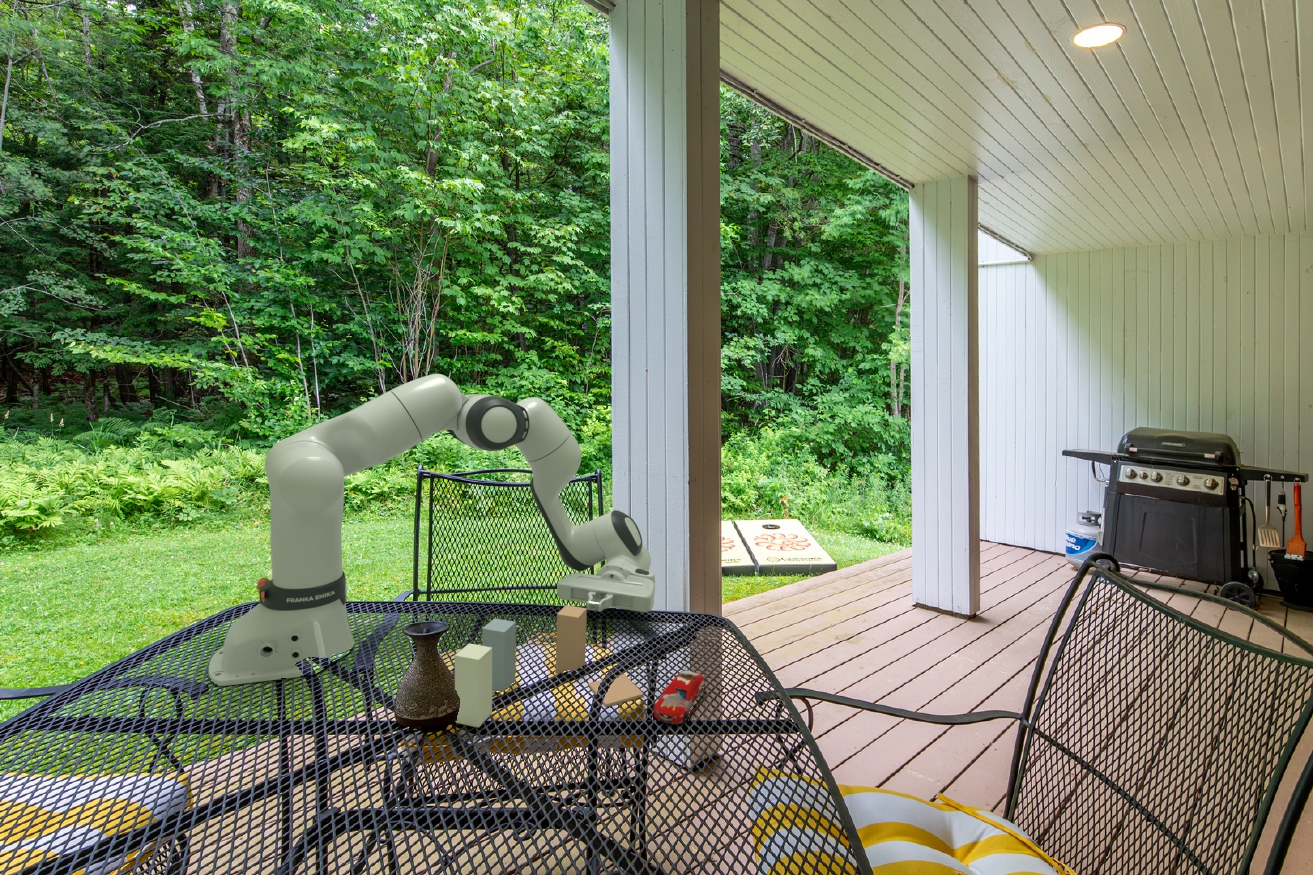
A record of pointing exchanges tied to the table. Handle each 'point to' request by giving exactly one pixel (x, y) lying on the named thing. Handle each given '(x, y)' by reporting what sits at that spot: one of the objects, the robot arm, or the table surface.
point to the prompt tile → (618, 691)
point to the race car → (678, 697)
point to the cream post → (474, 684)
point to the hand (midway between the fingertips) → (593, 607)
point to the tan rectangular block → (571, 638)
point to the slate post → (501, 651)
